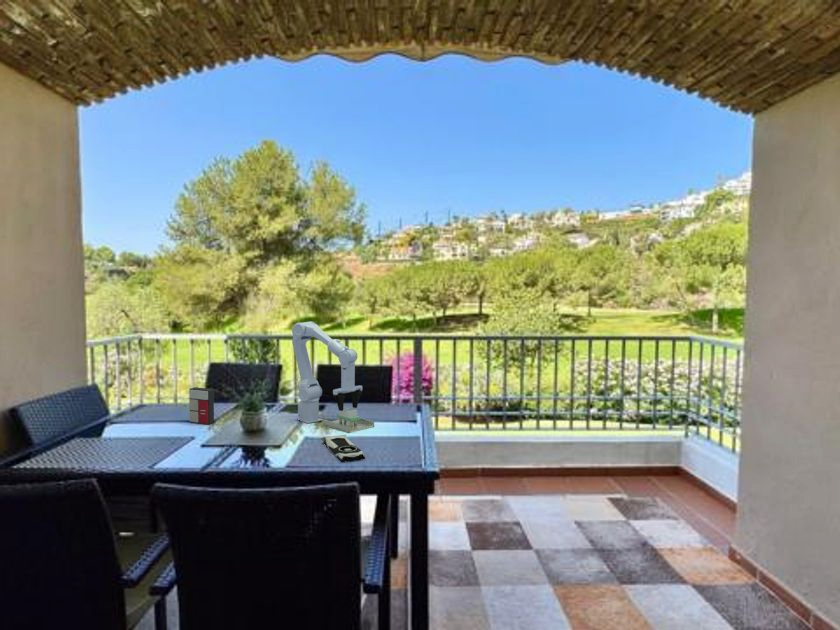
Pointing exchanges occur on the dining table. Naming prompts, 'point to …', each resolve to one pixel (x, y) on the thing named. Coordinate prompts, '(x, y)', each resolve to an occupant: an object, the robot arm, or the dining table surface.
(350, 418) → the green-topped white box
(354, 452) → the graphics card
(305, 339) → the robot arm
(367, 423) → the chassis
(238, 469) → the dining table surface
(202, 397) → the toy cabinet
